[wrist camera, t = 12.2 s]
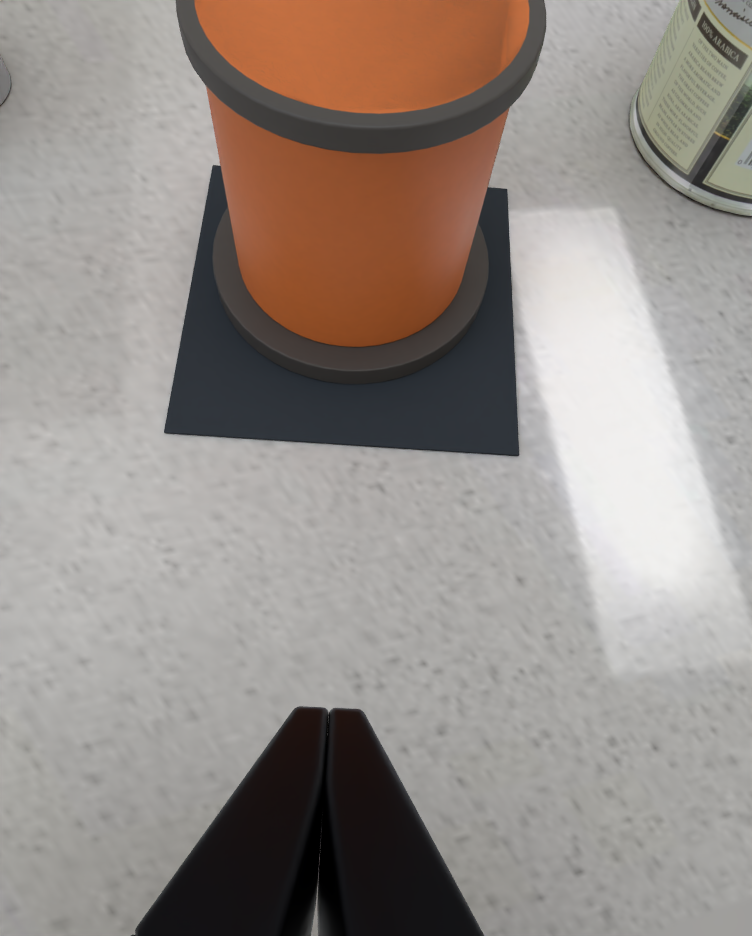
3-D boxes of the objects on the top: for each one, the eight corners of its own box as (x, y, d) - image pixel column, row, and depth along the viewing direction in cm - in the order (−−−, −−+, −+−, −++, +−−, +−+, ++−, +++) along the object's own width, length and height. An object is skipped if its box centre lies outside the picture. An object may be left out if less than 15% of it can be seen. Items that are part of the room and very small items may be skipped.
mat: (518, 456, 25) (519, 455, 25) (164, 433, 25) (163, 432, 25) (506, 190, 31) (507, 188, 30) (213, 167, 30) (212, 165, 30)
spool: (421, 429, 25) (482, 211, 15) (163, 316, 27) (62, 45, 17) (520, 225, 30) (619, -51, 20) (294, 135, 31) (277, -168, 21)
